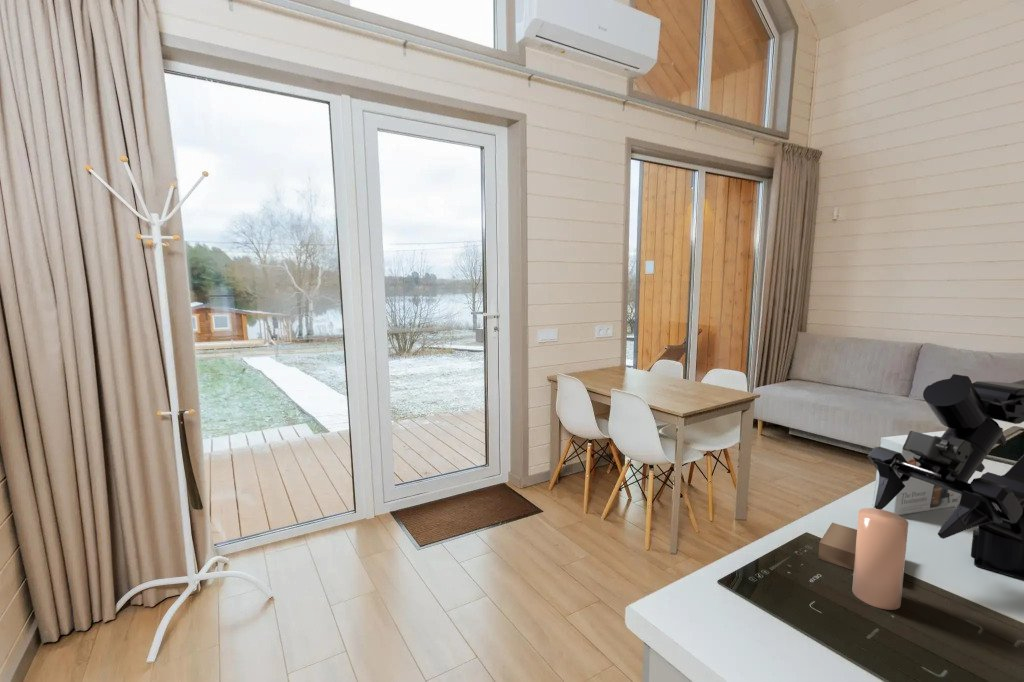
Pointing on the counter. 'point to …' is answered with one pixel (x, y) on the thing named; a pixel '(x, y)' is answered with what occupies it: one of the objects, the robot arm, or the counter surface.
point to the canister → (880, 558)
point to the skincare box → (915, 485)
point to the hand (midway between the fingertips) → (906, 521)
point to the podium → (839, 546)
